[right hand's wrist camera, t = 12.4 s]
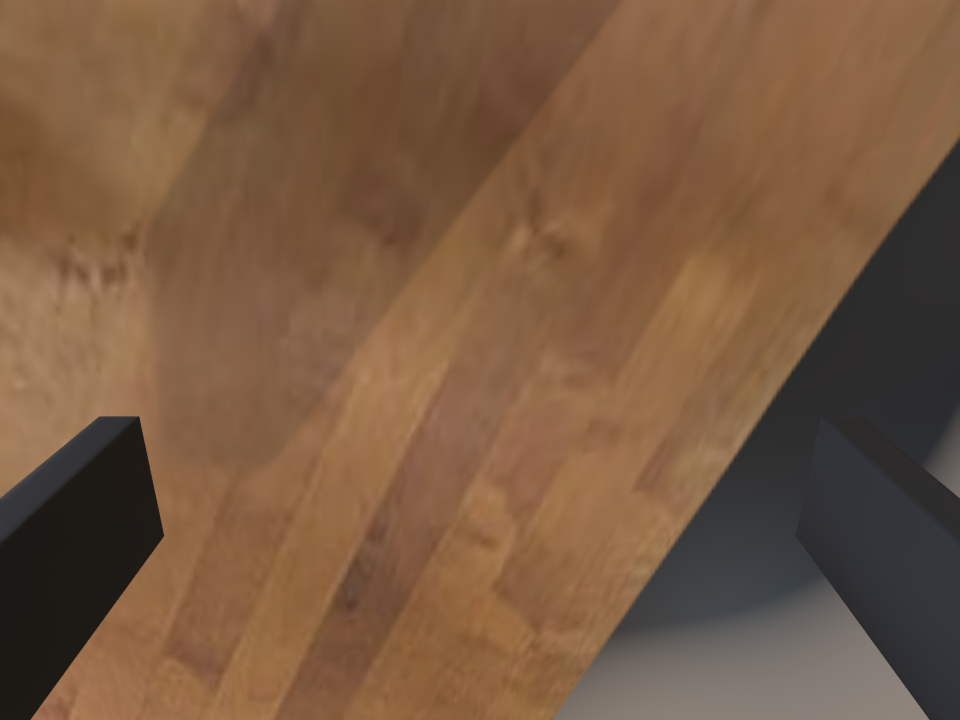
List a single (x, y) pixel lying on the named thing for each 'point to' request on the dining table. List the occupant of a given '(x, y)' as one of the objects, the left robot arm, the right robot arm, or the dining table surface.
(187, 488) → the dining table surface
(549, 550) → the dining table surface
